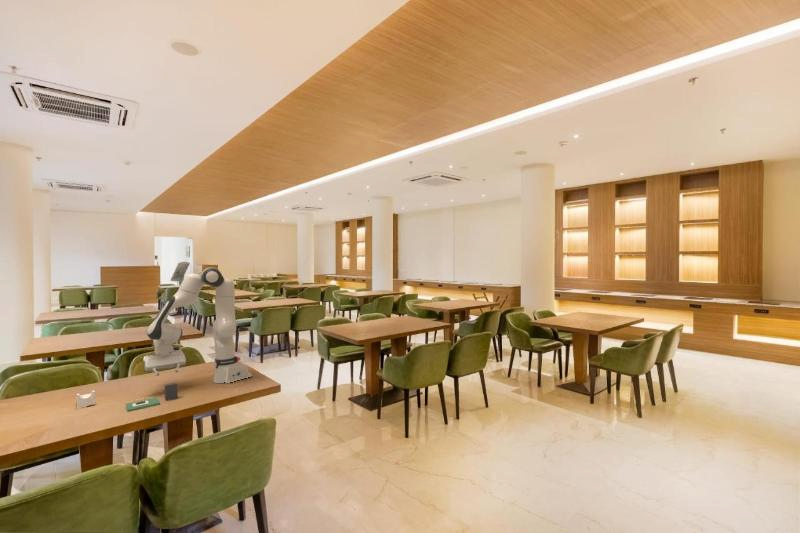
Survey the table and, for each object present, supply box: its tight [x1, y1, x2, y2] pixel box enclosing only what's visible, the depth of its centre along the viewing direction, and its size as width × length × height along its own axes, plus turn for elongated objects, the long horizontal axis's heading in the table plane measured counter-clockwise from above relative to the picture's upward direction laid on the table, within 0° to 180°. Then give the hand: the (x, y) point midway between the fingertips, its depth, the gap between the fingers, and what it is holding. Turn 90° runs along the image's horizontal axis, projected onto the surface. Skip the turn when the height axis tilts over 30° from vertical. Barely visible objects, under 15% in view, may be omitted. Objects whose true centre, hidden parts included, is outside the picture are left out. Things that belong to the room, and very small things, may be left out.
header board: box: [125, 396, 161, 413], centre depth 200 cm, size 14×11×4 cm
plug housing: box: [163, 381, 179, 401], centre depth 208 cm, size 6×4×8 cm, turn 130°
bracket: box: [76, 390, 96, 409], centre depth 203 cm, size 13×7×8 cm, turn 42°
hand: (167, 373), depth 214 cm, fingers open, 8 cm apart
